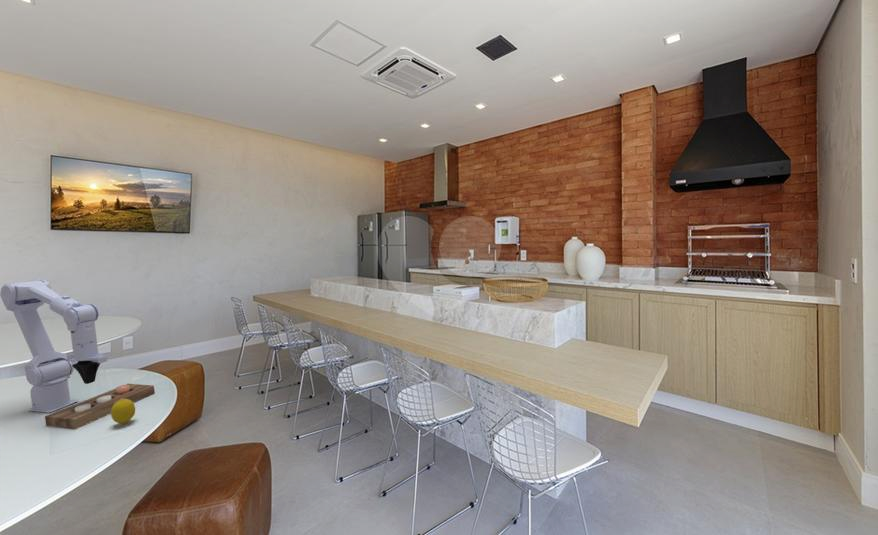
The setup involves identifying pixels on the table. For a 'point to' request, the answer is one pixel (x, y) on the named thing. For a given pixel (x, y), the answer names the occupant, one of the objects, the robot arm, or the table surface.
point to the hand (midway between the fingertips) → (89, 382)
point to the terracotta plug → (122, 389)
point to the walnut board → (95, 407)
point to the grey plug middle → (103, 399)
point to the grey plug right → (82, 407)
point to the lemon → (123, 411)
